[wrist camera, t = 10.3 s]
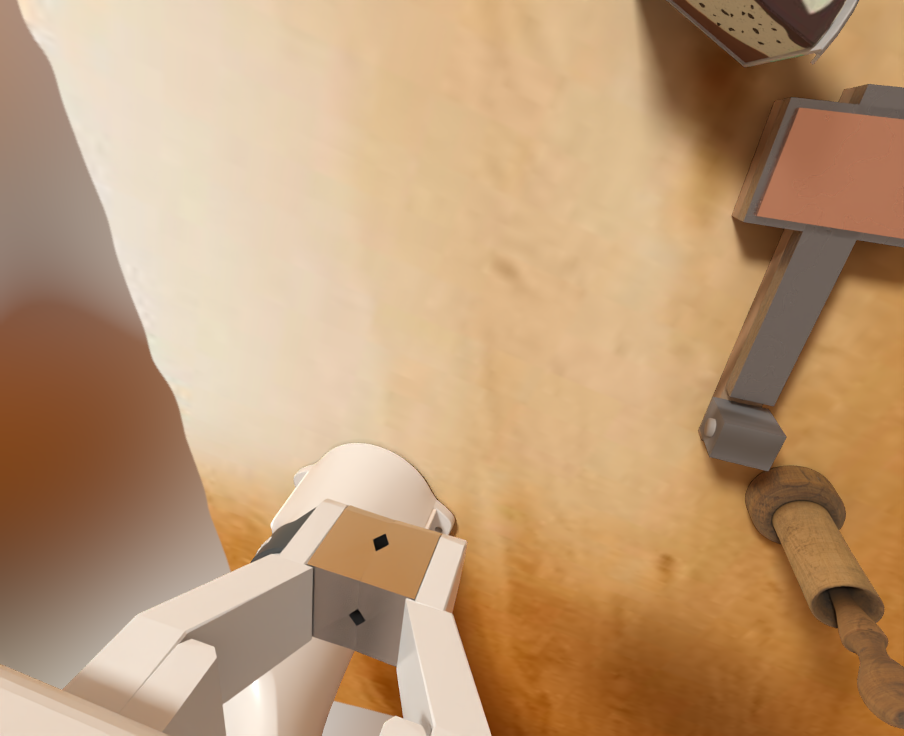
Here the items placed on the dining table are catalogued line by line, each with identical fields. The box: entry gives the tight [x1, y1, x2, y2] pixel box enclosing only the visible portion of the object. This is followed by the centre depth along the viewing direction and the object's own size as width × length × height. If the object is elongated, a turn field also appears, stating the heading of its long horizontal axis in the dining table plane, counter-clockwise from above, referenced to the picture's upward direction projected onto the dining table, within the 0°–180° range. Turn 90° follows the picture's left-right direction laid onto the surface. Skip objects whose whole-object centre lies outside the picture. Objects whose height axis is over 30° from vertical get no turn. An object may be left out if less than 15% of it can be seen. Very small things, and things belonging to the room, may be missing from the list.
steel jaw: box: [725, 84, 904, 406], centre depth 31 cm, size 20×10×2 cm, turn 172°
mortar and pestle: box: [745, 466, 904, 729], centre depth 33 cm, size 7×6×18 cm
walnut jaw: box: [698, 87, 856, 471], centre depth 32 cm, size 25×10×6 cm, turn 172°
